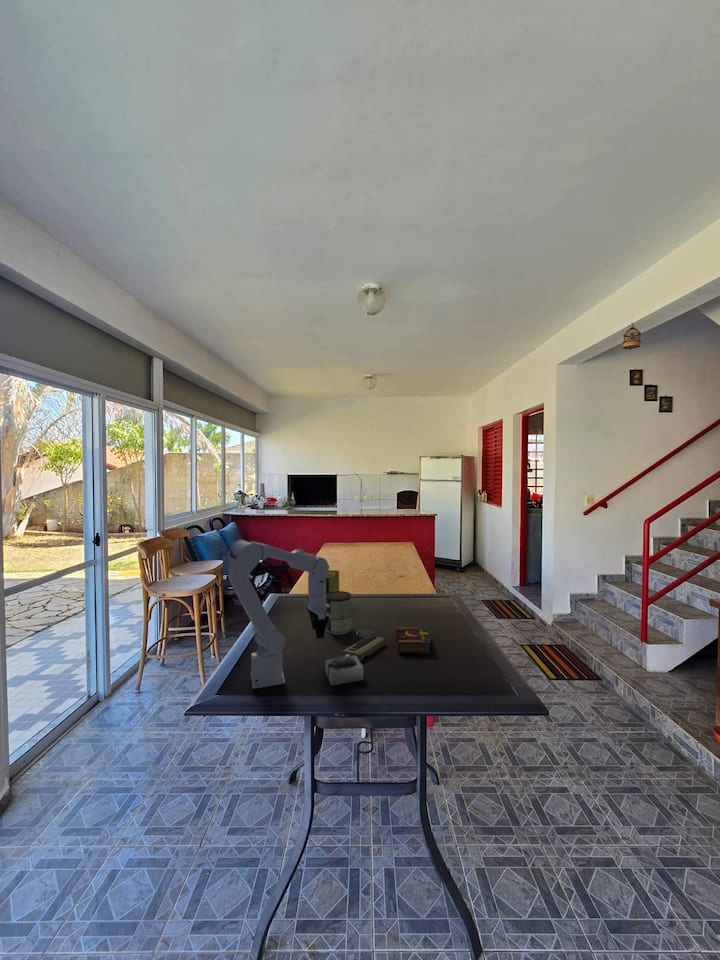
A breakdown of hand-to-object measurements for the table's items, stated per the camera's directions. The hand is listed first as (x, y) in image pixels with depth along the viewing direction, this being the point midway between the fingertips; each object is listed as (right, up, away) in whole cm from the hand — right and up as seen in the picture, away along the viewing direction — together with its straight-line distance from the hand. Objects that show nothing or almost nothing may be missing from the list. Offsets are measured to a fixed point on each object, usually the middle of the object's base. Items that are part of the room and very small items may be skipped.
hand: (318, 633), depth 130 cm
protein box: (-3, -9, +56) cm, 56 cm away
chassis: (+9, -10, -9) cm, 16 cm away
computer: (+16, -10, +9) cm, 21 cm away
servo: (+9, -9, -9) cm, 16 cm away
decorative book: (+33, -10, +13) cm, 37 cm away
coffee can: (+5, -10, +28) cm, 30 cm away
